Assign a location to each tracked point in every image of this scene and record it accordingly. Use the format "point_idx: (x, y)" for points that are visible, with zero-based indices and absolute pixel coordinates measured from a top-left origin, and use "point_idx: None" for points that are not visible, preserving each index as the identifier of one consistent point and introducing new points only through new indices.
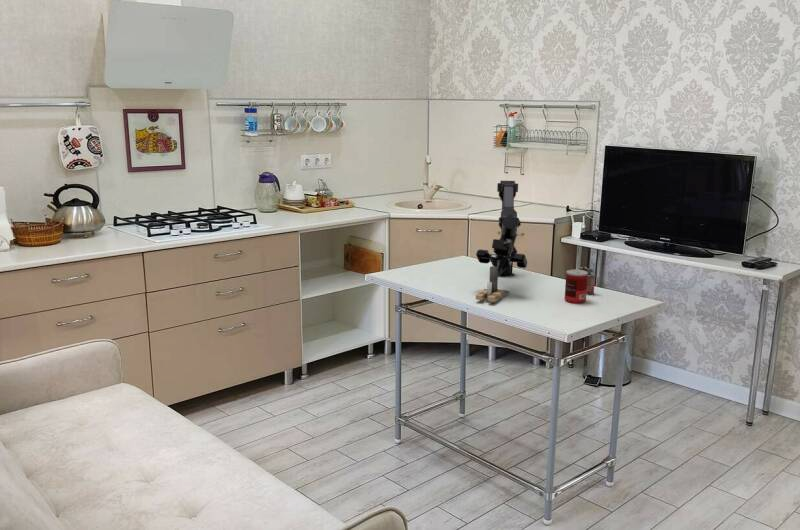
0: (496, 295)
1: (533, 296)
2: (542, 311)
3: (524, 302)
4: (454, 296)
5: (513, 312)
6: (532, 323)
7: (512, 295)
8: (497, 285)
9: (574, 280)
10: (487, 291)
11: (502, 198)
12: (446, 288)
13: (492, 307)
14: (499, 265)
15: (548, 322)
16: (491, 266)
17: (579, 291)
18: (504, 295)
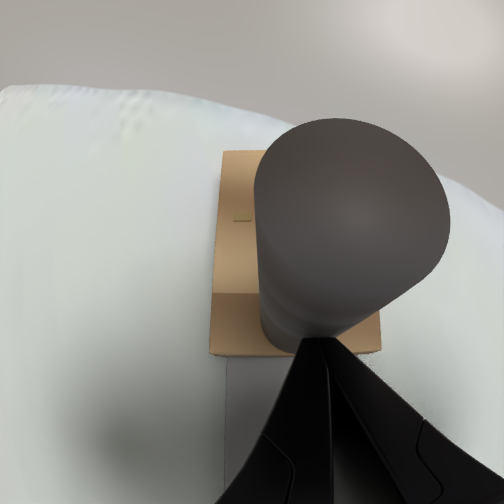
0: (223, 199)
1: (64, 480)
2: (7, 214)
3: (74, 328)
4: (489, 247)
5: (114, 137)
6: (60, 88)
7: (185, 470)
8: (260, 314)
9: None
10: None
11: None
12: None
13: (224, 150)
14: (319, 495)
15: (17, 121)
16: (443, 232)
17: None
18: (226, 414)
